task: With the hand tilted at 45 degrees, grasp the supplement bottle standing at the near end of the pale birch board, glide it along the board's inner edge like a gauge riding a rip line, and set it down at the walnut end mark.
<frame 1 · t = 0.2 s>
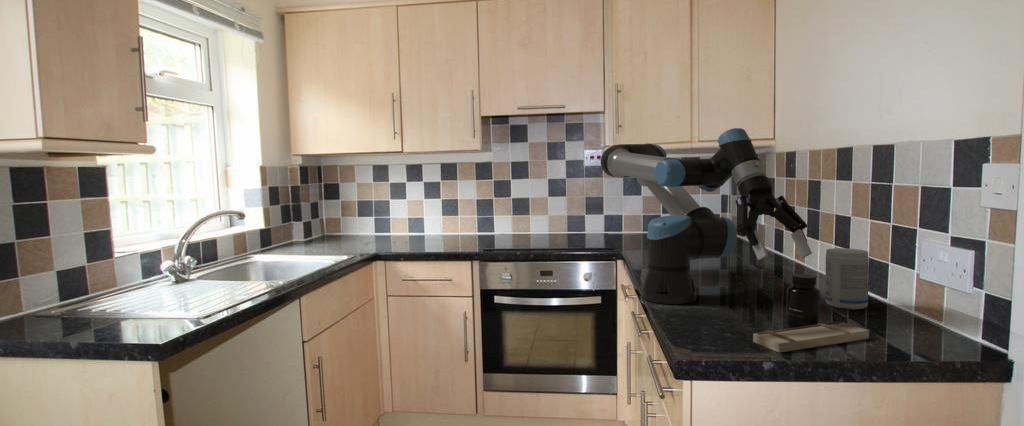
hand: (785, 256, 124), 16 cm above the counter, tool tilted 35°, fingers open, 13 cm apart
birch board: (811, 340, 111), on the counter
supplement bottle: (802, 327, 121), on the counter
supplement tub: (845, 306, 137), on the counter
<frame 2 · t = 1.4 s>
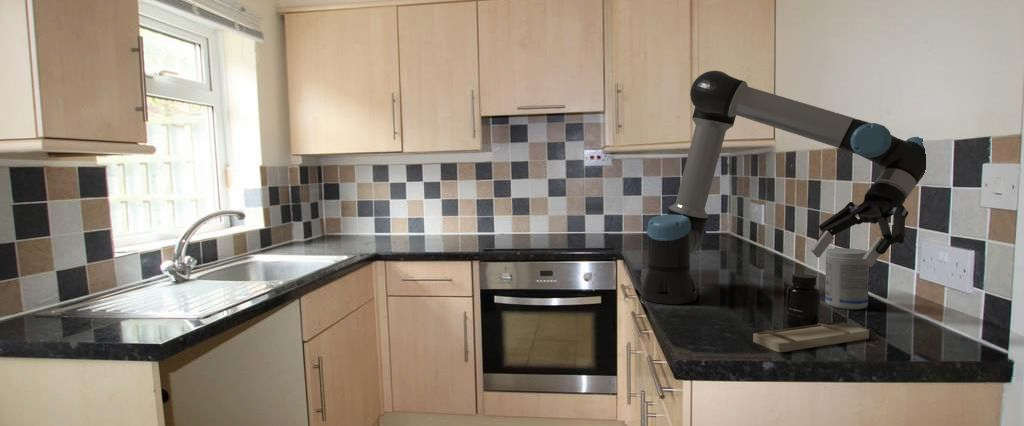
hand: (839, 258, 122), 15 cm above the counter, tool tilted 45°, fingers open, 13 cm apart
nothing on the counter moved.
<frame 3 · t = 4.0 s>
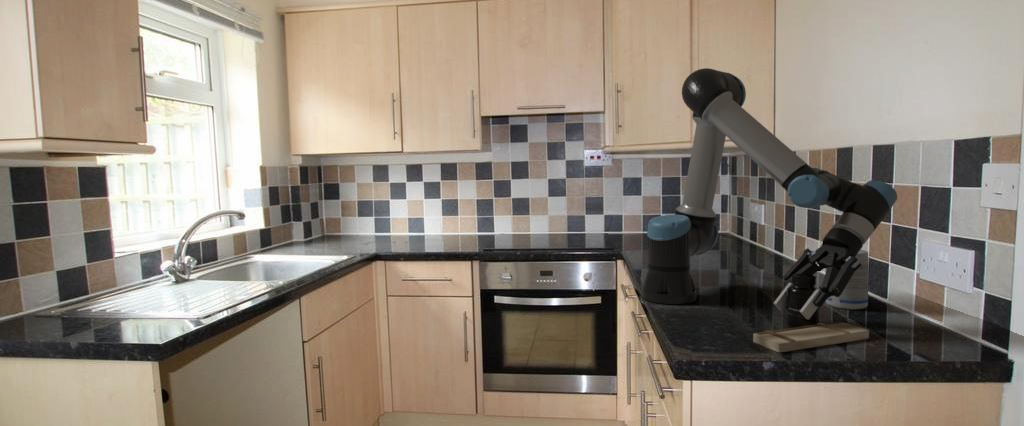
hand: (790, 311, 119), 4 cm above the counter, tool tilted 45°, fingers closed on supplement bottle, 7 cm apart
supplement bottle: (802, 327, 121), on the counter, touching gripper
everything else where it was.
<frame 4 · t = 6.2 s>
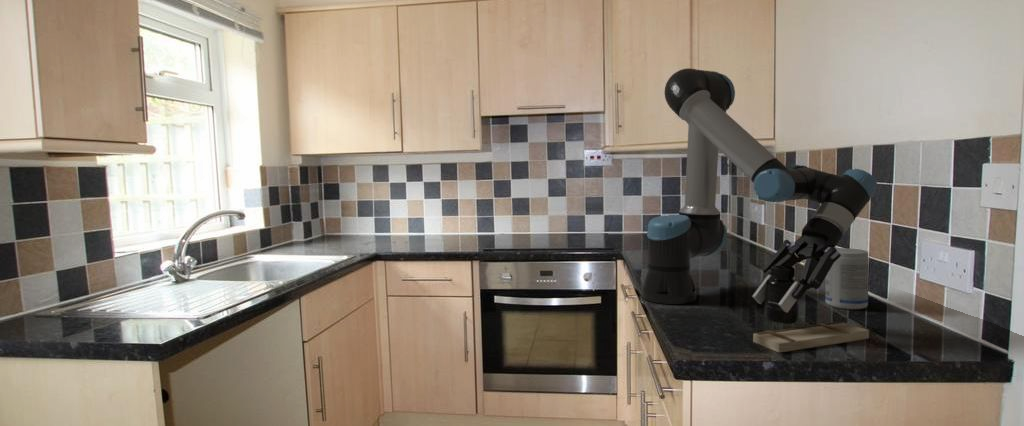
hand: (769, 304, 116), 7 cm above the counter, tool tilted 45°, fingers closed on supplement bottle, 7 cm apart
supplement bottle: (781, 320, 117), point 2 cm above the counter, touching gripper
everything else where it was.
when the fingers open (5 cm above the counter, at t = 8.3 s): supplement bottle stays where it is, on the counter.
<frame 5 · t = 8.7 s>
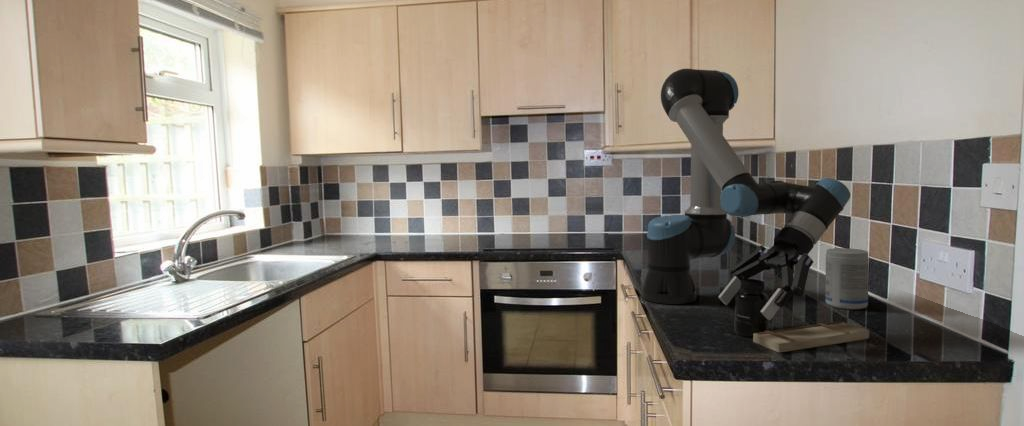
hand: (742, 308, 115), 6 cm above the counter, tool tilted 45°, fingers open, 12 cm apart
supplement bottle: (750, 334, 116), on the counter
everything else where it was.
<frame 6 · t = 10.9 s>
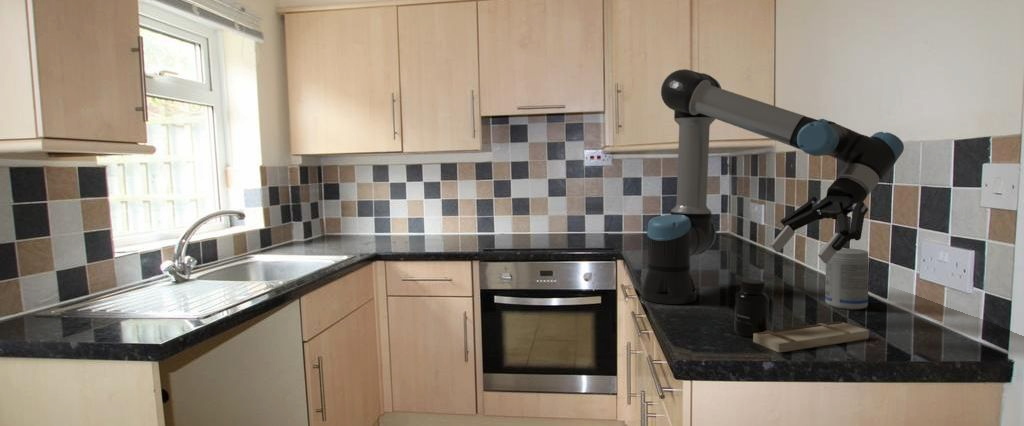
hand: (797, 253, 120), 17 cm above the counter, tool tilted 45°, fingers open, 13 cm apart
nothing on the counter moved.
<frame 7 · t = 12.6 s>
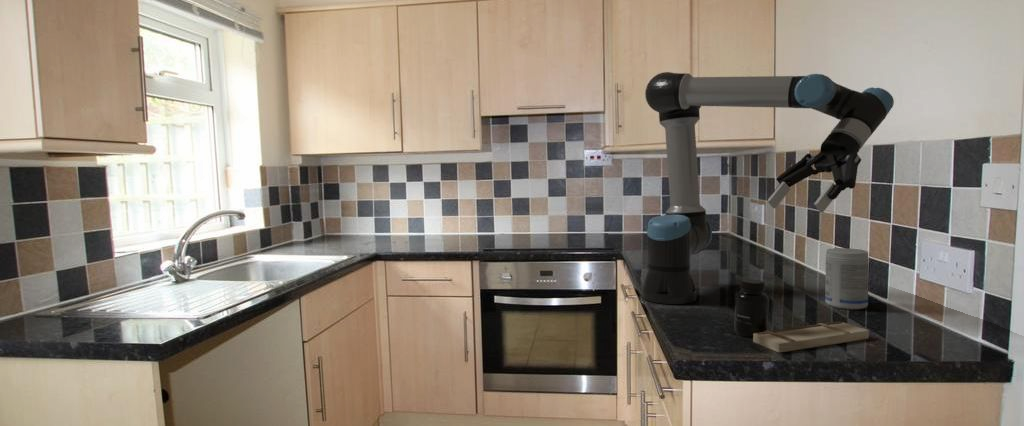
hand: (793, 206, 122), 28 cm above the counter, tool tilted 45°, fingers open, 13 cm apart
nothing on the counter moved.
at the end: supplement bottle inside the target area (0.4 cm from its centre), on the counter; supplement bottle tilted 0°; the gripper is holding nothing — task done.
